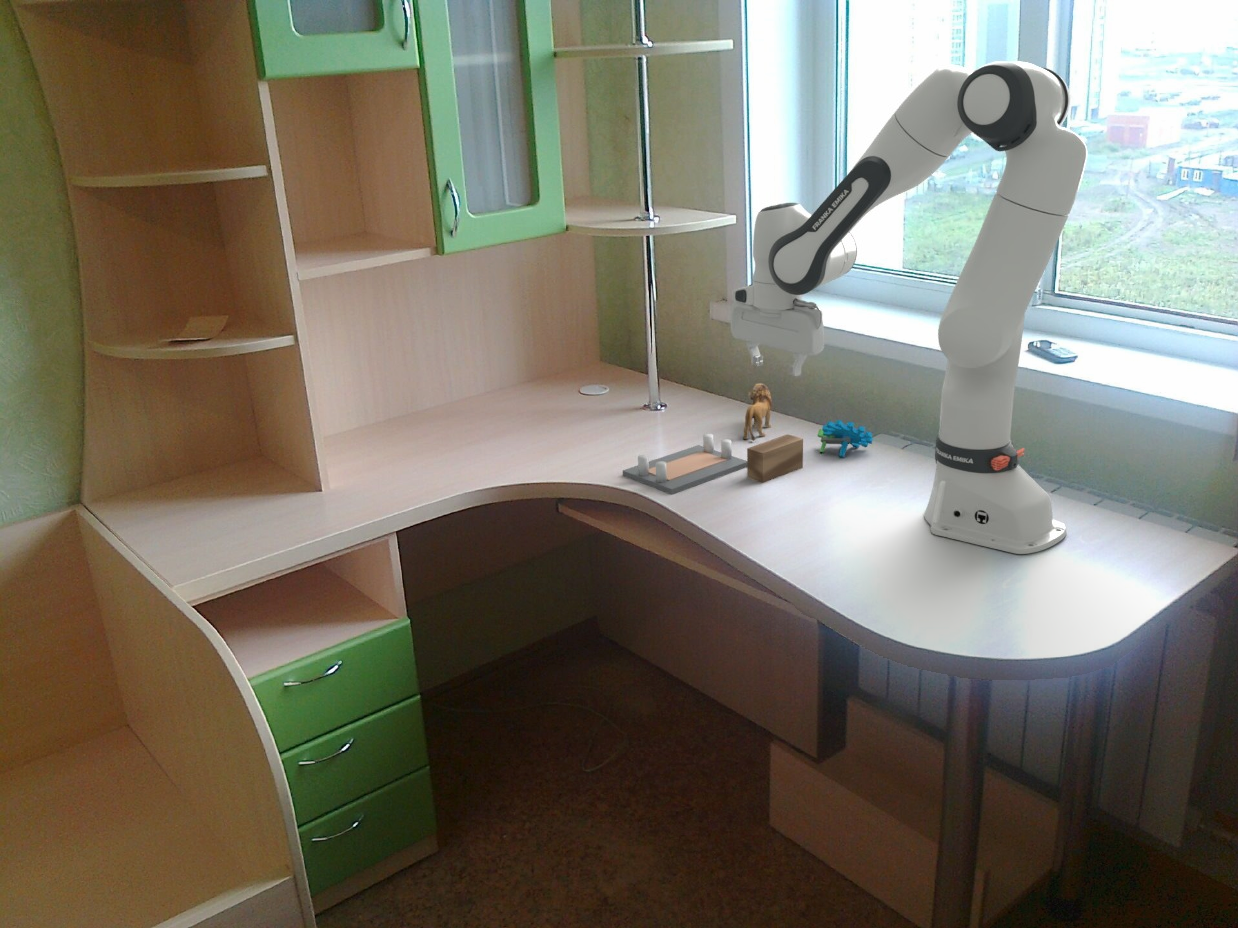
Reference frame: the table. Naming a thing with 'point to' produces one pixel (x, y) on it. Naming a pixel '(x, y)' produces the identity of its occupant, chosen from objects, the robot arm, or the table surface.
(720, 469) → the cradle
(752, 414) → the lion figurine
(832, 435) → the blue spiky animal toy
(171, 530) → the table surface
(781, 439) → the block
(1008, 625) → the table surface
